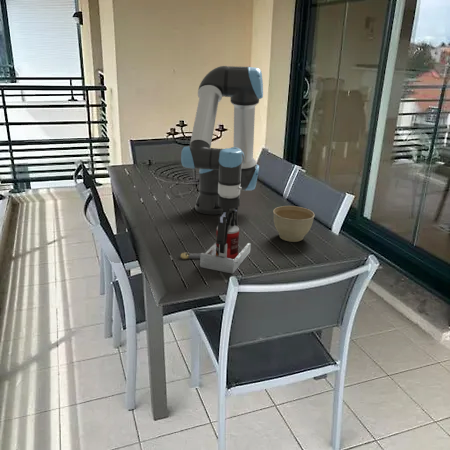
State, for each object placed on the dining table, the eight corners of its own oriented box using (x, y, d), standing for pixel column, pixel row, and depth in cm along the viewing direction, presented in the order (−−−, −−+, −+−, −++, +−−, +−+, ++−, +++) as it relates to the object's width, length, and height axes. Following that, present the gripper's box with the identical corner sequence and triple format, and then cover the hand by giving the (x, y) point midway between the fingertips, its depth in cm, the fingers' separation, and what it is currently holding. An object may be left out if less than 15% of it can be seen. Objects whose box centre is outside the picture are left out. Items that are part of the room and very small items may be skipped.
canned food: (215, 251, 165) (215, 223, 161) (236, 251, 166) (238, 223, 162) (216, 261, 158) (217, 232, 154) (239, 261, 159) (240, 232, 155)
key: (180, 259, 160) (180, 256, 160) (180, 255, 163) (180, 252, 163) (202, 259, 161) (202, 256, 161) (202, 255, 164) (202, 252, 163)
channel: (200, 266, 155) (200, 253, 154) (220, 246, 172) (220, 234, 170) (232, 273, 152) (233, 260, 150) (250, 251, 168) (251, 239, 166)
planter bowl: (302, 249, 172) (305, 222, 168) (264, 239, 180) (266, 213, 176) (317, 236, 185) (320, 211, 181) (281, 227, 192) (283, 203, 188)
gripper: (228, 205, 143) (226, 269, 152) (249, 188, 161) (245, 246, 170) (207, 202, 146) (206, 265, 154) (229, 185, 164) (227, 243, 172)
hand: (226, 255), depth 162 cm, fingers closed on canned food, 8 cm apart
